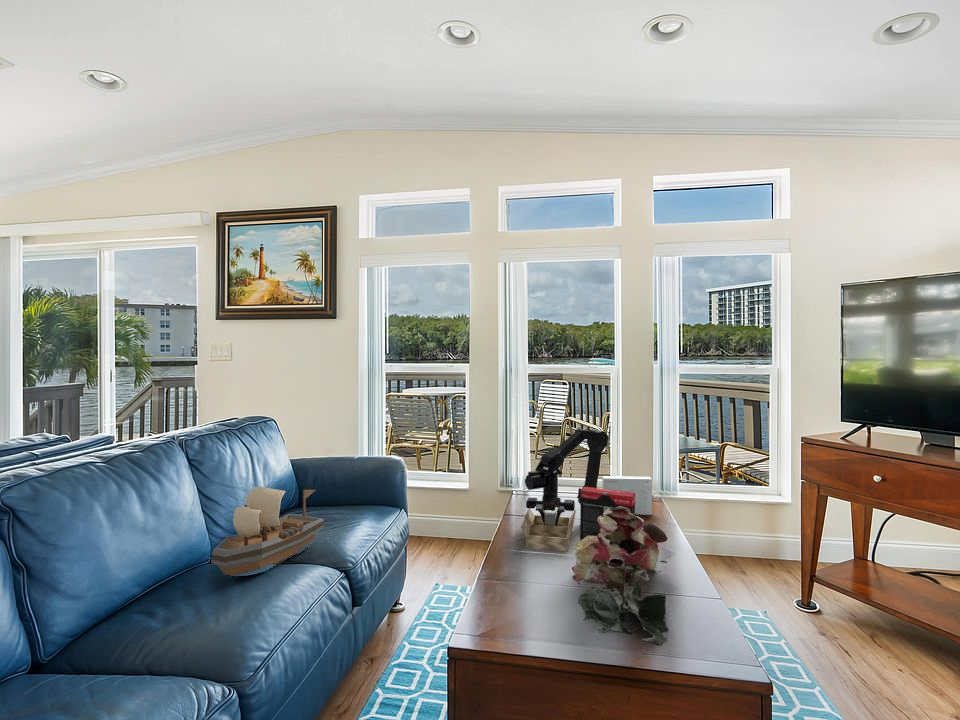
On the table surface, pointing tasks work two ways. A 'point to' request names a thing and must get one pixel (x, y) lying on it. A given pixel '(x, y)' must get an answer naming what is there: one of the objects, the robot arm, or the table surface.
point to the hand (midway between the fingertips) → (550, 525)
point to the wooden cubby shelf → (547, 532)
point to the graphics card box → (601, 507)
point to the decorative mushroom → (655, 534)
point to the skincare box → (633, 490)
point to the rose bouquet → (619, 574)
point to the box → (550, 518)
